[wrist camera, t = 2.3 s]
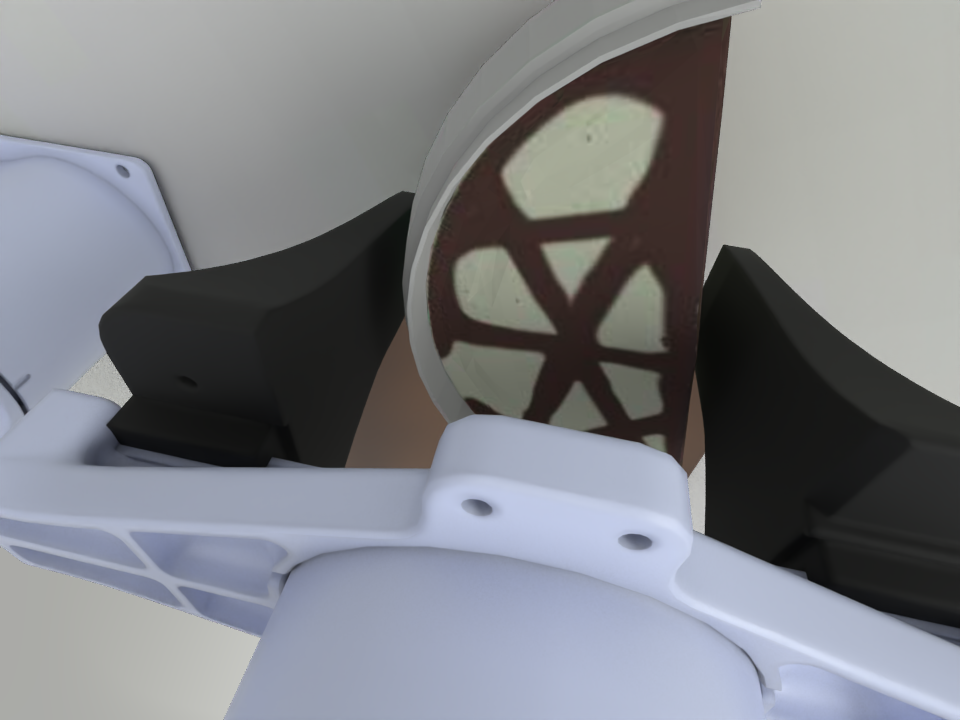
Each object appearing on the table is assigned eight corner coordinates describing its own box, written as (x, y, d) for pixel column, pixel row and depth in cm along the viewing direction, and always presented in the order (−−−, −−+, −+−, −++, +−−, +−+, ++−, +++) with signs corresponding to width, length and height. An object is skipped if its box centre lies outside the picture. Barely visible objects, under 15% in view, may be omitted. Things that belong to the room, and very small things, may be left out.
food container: (439, -58, 14) (247, 43, 7) (688, -120, 12) (771, -66, 5) (512, 307, 22) (458, 523, 15) (665, 302, 20) (685, 542, 13)
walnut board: (346, 504, 37) (342, 514, 37) (297, 282, 23) (289, 293, 23) (622, 564, 36) (622, 575, 35) (751, 365, 22) (755, 379, 21)
